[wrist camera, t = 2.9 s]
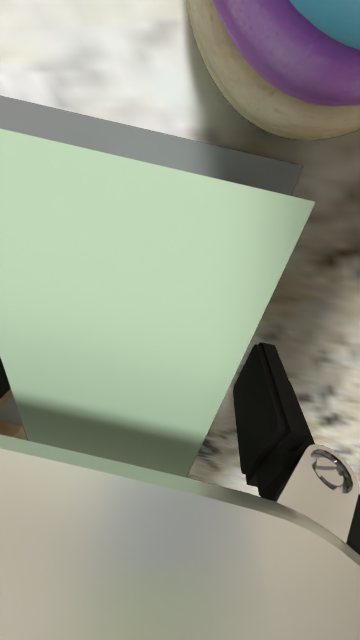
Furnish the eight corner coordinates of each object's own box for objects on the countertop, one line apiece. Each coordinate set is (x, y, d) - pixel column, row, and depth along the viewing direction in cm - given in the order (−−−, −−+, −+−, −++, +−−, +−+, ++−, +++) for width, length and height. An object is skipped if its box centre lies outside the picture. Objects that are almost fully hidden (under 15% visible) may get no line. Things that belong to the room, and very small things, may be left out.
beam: (247, 190, 8) (316, 201, 3) (178, 411, 15) (161, 531, 10) (109, 158, 8) (-83, 109, 3) (105, 394, 15) (50, 505, 10)
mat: (297, 166, 8) (303, 166, 7) (169, 487, 22) (168, 494, 22) (-312, 25, 8) (-349, 14, 7) (-44, 437, 22) (-50, 443, 22)
